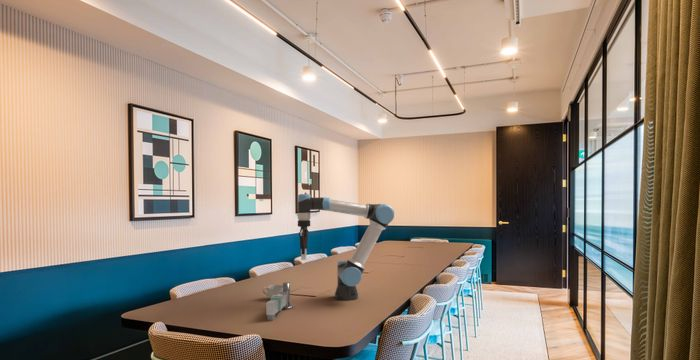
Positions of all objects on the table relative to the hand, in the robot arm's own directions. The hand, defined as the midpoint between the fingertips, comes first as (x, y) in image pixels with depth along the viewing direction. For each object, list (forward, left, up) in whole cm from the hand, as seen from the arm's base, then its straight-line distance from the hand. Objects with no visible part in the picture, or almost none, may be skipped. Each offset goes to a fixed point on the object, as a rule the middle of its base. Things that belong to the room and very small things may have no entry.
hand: (303, 259), depth 241 cm
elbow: (+17, -8, -25) cm, 31 cm away
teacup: (-10, -22, -27) cm, 36 cm away
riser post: (+8, -8, -26) cm, 29 cm away
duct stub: (+29, -8, -26) cm, 40 cm away
